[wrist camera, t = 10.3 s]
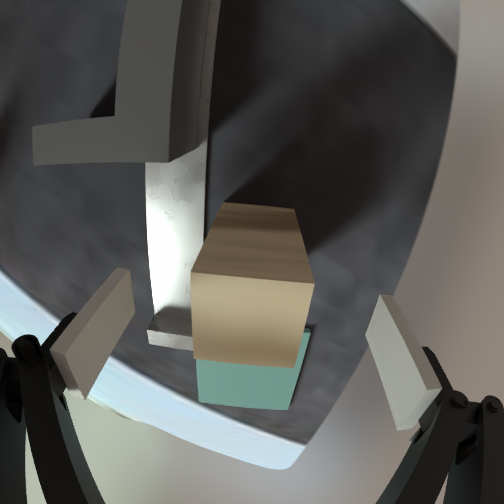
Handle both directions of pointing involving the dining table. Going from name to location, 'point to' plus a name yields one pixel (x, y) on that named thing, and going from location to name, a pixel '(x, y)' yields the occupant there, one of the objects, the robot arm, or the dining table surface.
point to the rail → (179, 217)
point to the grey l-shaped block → (141, 92)
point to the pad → (249, 382)
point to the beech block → (251, 288)
